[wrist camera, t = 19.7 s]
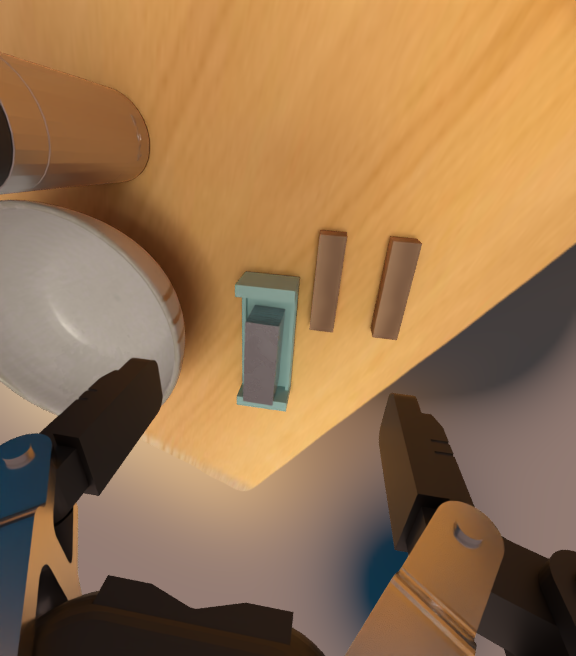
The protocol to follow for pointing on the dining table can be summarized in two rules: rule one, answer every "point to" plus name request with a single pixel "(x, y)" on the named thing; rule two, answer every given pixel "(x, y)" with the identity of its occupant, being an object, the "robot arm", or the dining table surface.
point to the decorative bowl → (79, 305)
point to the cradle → (285, 296)
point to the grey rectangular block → (262, 354)
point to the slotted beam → (391, 288)
